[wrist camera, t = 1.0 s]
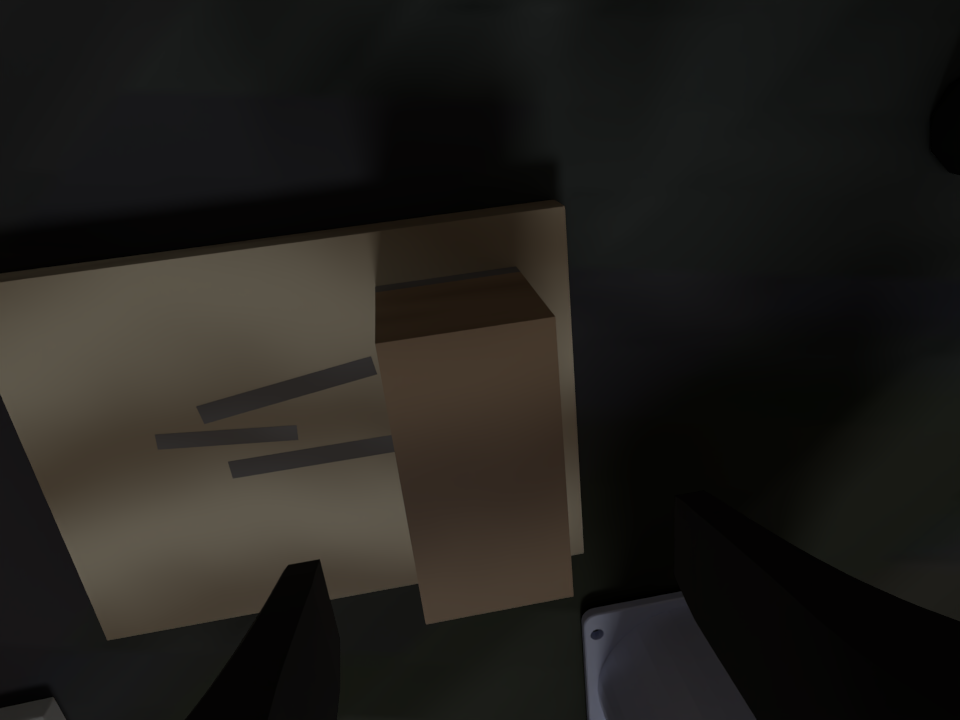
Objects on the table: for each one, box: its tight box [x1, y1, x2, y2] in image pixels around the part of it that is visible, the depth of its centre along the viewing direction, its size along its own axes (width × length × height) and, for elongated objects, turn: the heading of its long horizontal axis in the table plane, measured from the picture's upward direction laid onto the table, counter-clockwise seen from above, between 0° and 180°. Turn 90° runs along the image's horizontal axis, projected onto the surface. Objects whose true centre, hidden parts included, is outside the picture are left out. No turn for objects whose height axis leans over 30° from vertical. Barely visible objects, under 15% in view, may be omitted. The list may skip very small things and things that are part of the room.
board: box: [0, 200, 584, 640], centre depth 21 cm, size 12×16×1 cm
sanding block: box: [375, 266, 573, 624], centre depth 18 cm, size 8×4×4 cm, turn 6°
